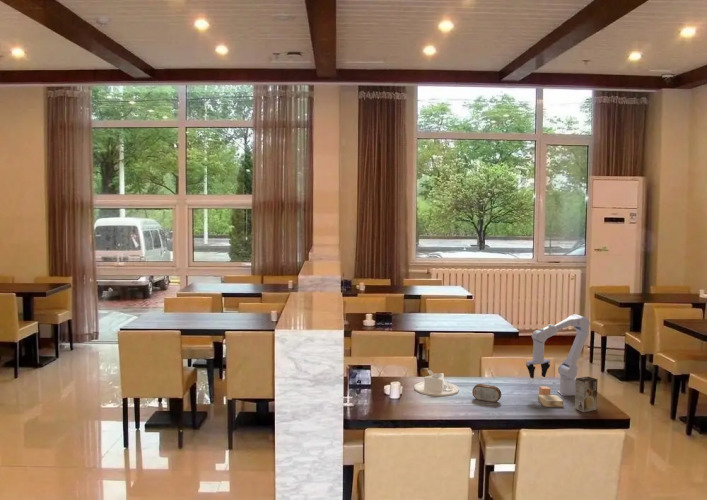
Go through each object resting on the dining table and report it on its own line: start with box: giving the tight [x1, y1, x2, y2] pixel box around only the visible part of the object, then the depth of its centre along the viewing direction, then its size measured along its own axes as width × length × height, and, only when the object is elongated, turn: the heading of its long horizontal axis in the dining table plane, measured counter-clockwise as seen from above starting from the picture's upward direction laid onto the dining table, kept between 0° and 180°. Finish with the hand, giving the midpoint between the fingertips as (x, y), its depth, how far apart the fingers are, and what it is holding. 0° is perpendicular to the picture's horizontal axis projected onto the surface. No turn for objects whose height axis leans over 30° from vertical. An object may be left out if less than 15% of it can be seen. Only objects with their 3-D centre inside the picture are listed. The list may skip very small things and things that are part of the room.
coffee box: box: [574, 376, 598, 413], centre depth 330 cm, size 9×6×16 cm
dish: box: [413, 369, 460, 397], centre depth 360 cm, size 25×25×11 cm
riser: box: [537, 394, 564, 408], centre depth 339 cm, size 10×10×3 cm
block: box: [538, 385, 551, 395], centre depth 351 cm, size 4×4×5 cm
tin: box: [472, 383, 502, 403], centre depth 341 cm, size 15×3×8 cm, turn 65°
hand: (537, 377), depth 351 cm, fingers open, 7 cm apart
